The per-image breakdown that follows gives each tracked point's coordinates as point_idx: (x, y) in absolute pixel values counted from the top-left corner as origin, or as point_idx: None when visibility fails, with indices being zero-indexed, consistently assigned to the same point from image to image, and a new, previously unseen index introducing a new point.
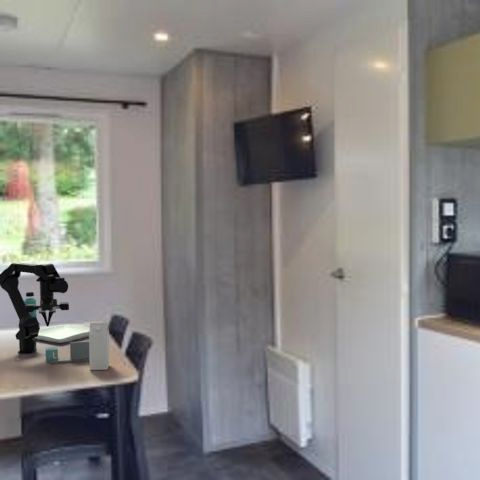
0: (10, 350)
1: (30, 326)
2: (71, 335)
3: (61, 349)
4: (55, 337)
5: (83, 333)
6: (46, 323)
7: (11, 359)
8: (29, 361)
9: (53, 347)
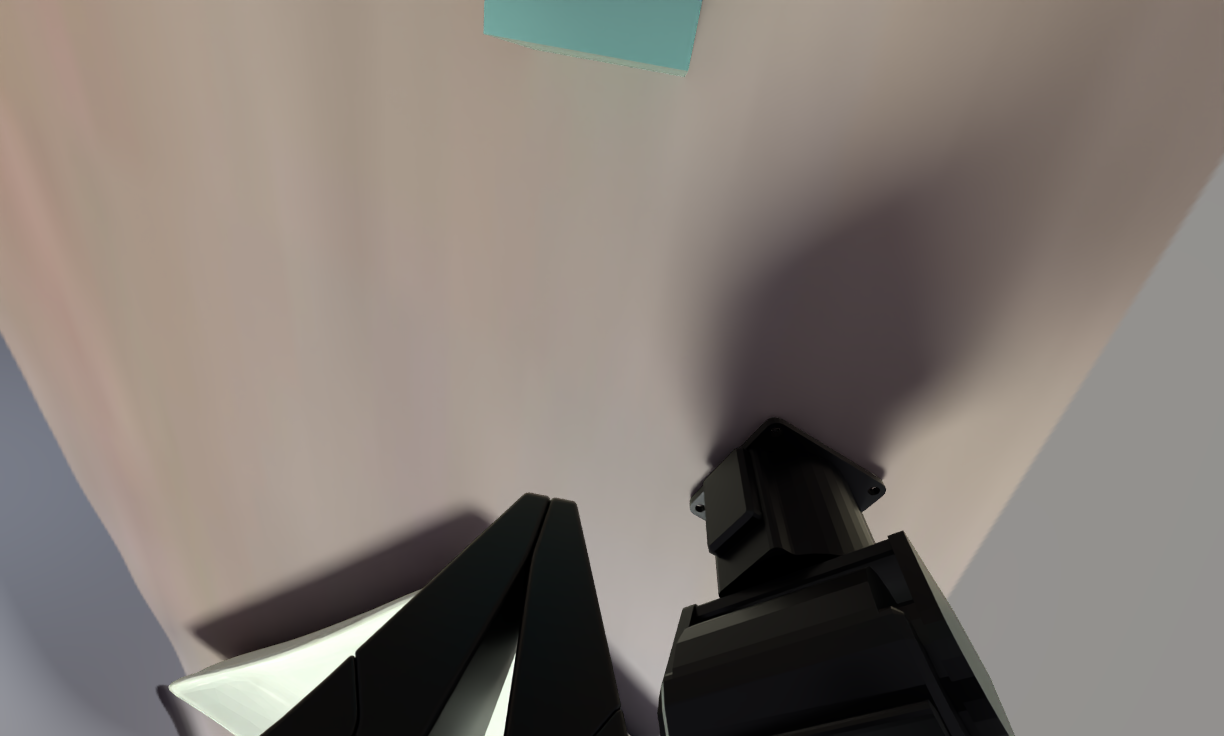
0: None
1: (882, 710)
2: None
3: (474, 416)
4: (500, 708)
5: (275, 651)
6: (564, 559)
7: (1068, 259)
8: (928, 19)
9: (557, 13)
